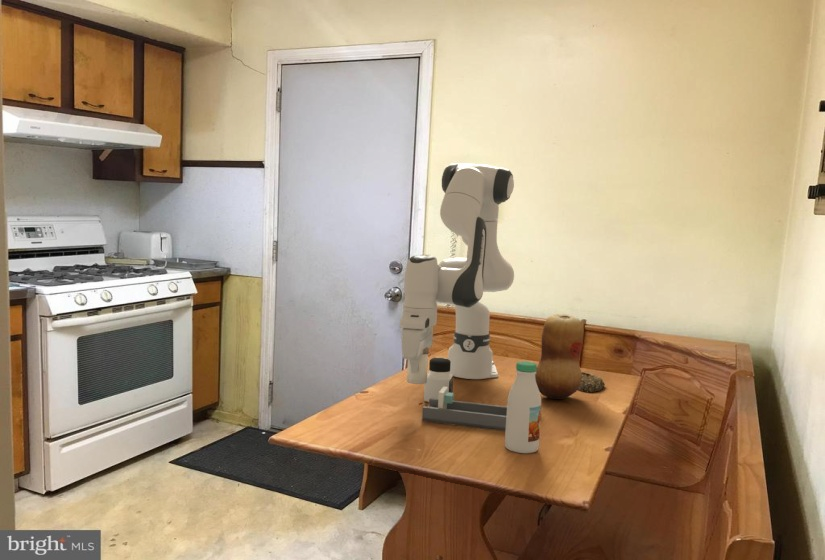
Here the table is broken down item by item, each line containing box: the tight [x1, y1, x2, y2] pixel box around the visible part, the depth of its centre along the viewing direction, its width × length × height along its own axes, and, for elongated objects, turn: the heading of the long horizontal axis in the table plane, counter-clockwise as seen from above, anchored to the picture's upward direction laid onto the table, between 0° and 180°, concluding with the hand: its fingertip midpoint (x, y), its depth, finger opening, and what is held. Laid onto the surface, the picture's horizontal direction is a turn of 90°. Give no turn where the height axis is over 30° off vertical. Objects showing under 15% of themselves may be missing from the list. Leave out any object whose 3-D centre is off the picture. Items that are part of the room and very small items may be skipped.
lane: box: [421, 398, 507, 432], centre depth 165 cm, size 9×24×8 cm, turn 76°
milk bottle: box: [504, 360, 542, 454], centre depth 147 cm, size 8×8×20 cm
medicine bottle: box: [423, 356, 454, 403], centre depth 183 cm, size 7×7×12 cm
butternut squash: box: [535, 313, 585, 400], centre depth 189 cm, size 14×13×25 cm
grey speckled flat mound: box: [577, 371, 606, 393], centre depth 206 cm, size 13×12×5 cm
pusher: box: [438, 387, 455, 409], centre depth 167 cm, size 6×3×6 cm, turn 166°
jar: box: [406, 347, 430, 385], centre depth 168 cm, size 5×5×9 cm
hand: (417, 369), depth 168 cm, fingers closed on jar, 5 cm apart
